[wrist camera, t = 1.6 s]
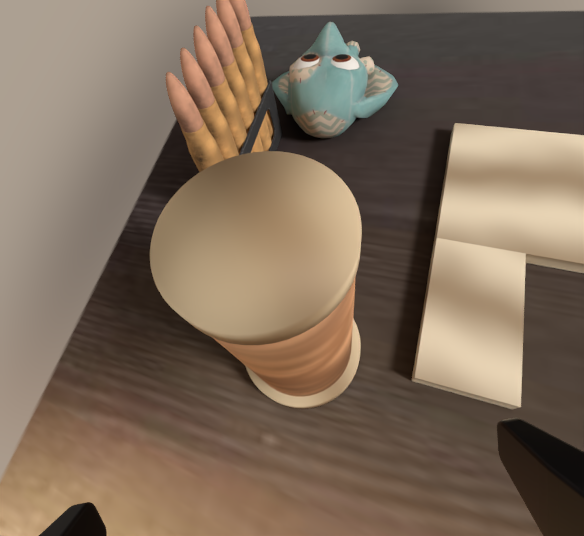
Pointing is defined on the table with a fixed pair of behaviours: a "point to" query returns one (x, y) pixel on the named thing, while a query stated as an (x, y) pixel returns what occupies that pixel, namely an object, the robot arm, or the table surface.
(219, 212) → the cord reel
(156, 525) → the table surface
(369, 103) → the stuffed animal
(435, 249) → the shelf board
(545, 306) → the table surface
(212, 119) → the ammunition clip
